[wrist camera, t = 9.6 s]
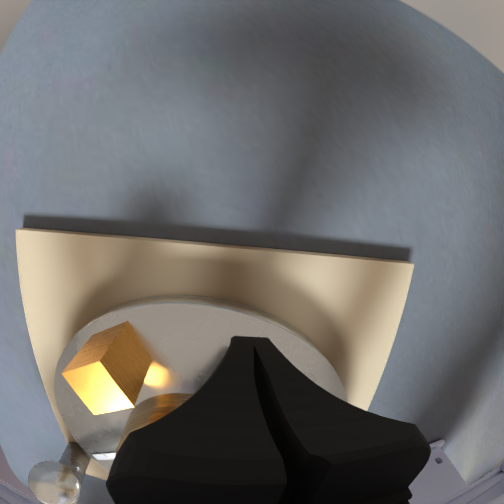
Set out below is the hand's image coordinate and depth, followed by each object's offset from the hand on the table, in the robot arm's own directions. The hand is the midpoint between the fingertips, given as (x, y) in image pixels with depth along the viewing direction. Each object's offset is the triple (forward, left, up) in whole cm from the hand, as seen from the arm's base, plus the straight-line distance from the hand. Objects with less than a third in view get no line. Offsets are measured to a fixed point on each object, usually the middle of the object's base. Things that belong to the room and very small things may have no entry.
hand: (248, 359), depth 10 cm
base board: (+2, +6, -3) cm, 7 cm away
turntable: (+2, +6, -2) cm, 7 cm away
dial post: (+11, +12, -3) cm, 17 cm away
